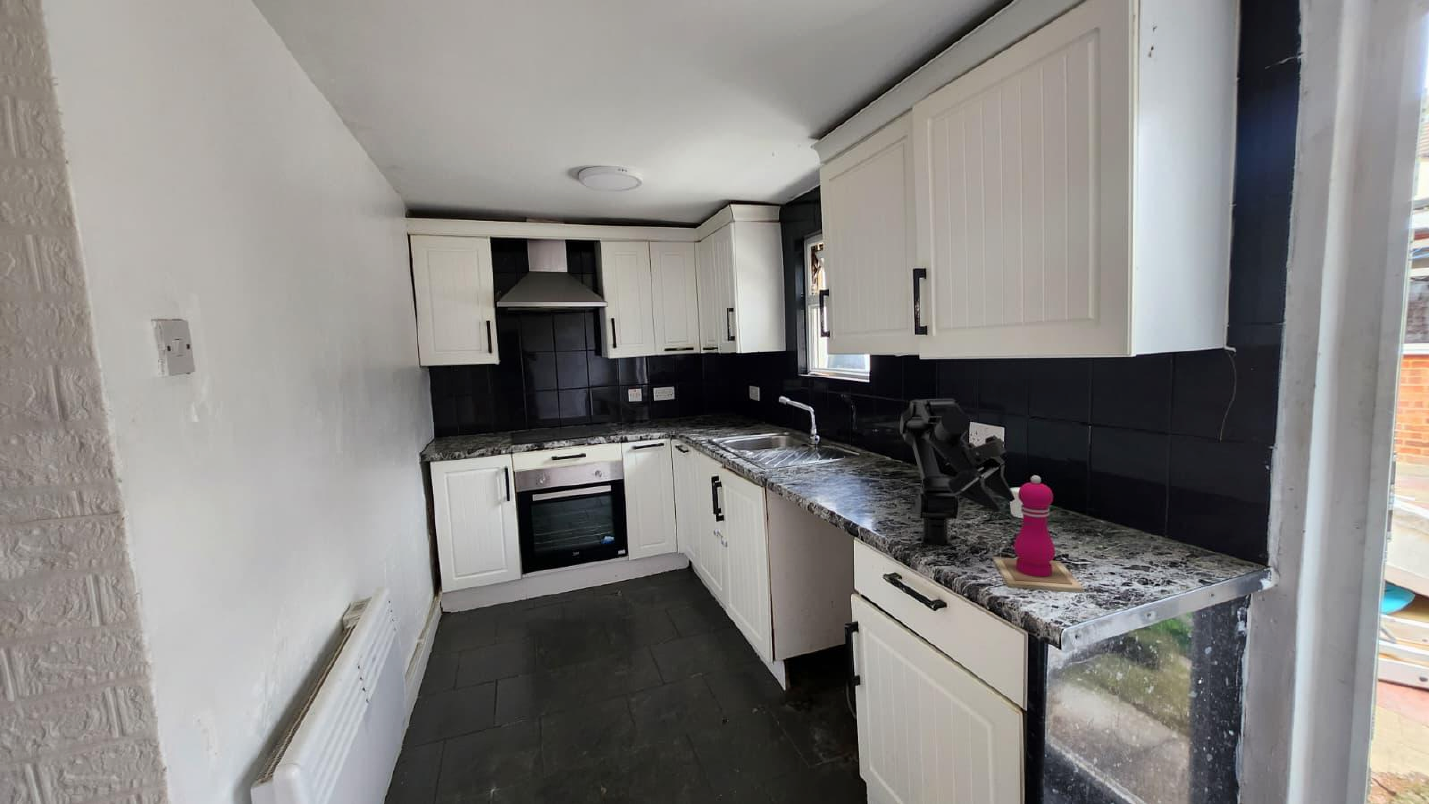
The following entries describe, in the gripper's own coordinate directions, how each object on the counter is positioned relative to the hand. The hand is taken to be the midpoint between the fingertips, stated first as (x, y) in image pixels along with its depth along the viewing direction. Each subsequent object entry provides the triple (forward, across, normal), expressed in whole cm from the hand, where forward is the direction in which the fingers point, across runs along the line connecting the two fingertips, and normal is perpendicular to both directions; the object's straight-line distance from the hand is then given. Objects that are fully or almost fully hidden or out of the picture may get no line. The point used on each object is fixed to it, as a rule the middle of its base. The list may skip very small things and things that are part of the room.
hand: (1006, 505), depth 112 cm
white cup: (+5, +38, +15) cm, 41 cm away
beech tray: (+14, 0, +6) cm, 15 cm away
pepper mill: (+13, 0, +5) cm, 14 cm away
